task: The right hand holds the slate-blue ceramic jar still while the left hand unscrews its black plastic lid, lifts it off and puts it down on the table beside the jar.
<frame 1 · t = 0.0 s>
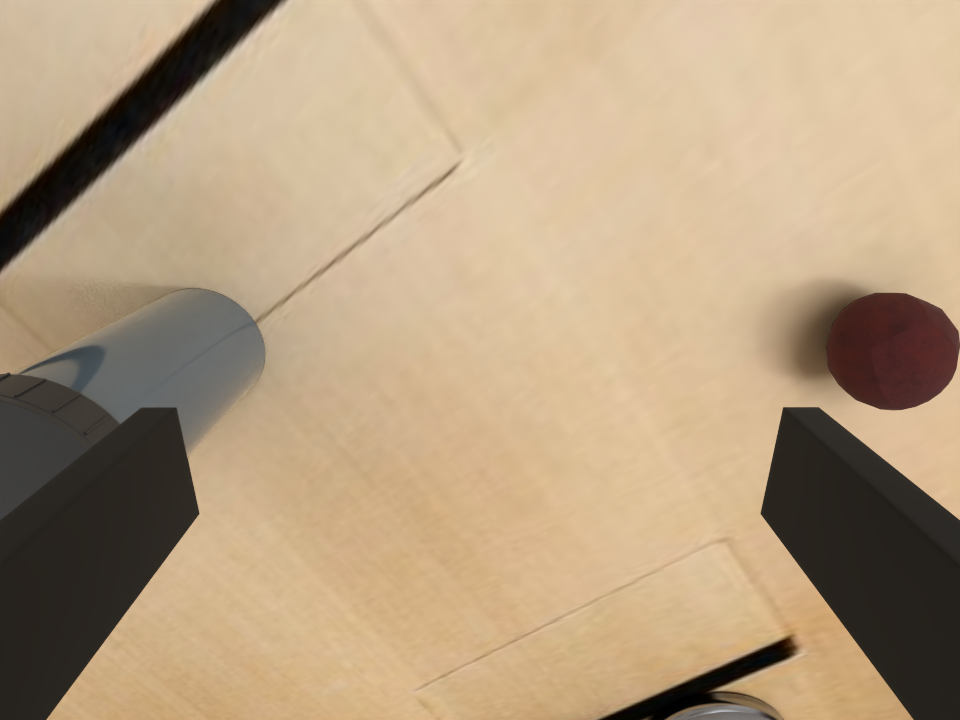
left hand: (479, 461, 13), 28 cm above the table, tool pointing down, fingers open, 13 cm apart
dark red round ball: (855, 331, 41), on the table
lid: (8, 497, 24), point 19 cm above the table, screwed on, not yet turned
jar: (204, 347, 41), on the table
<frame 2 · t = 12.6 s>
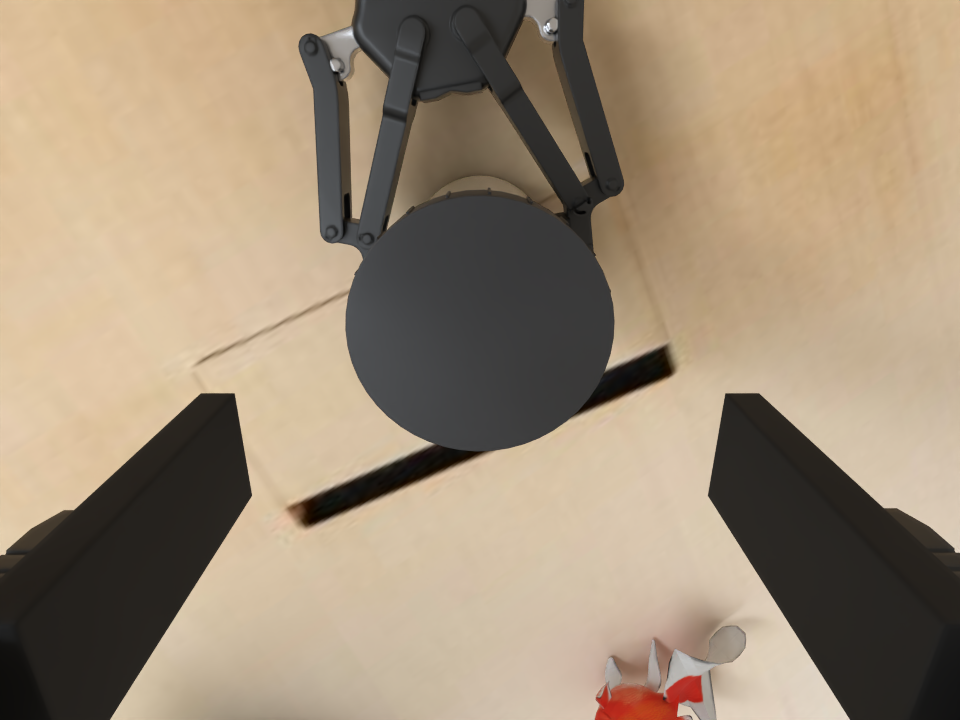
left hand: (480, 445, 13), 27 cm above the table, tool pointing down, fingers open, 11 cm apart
right hand: (492, 340, 34), fingers closed on jar, 9 cm apart
lid: (479, 331, 21), point 19 cm above the table, screwed on, not yet turned
jar: (479, 243, 38), on the table, touching right hand
fish: (654, 649, 52), on the table
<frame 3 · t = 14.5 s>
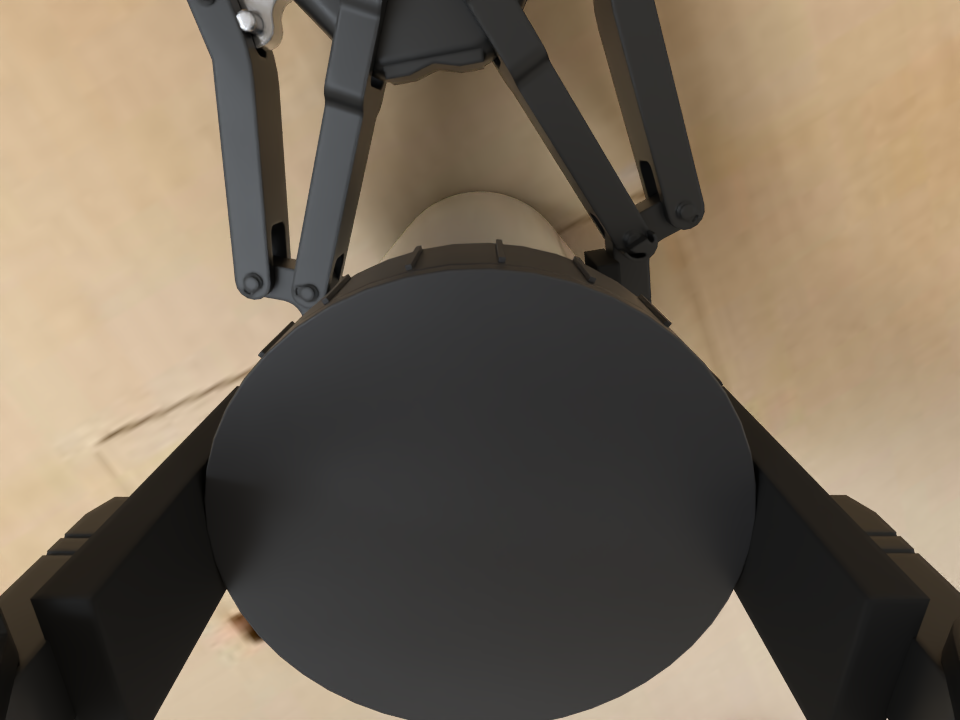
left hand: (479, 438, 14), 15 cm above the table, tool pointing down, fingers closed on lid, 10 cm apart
right hand: (498, 432, 23), fingers closed on jar, 9 cm apart
lid: (480, 526, 11), point 19 cm above the table, screwed on, not yet turned, touching left hand
jar: (480, 284, 28), on the table, touching right hand
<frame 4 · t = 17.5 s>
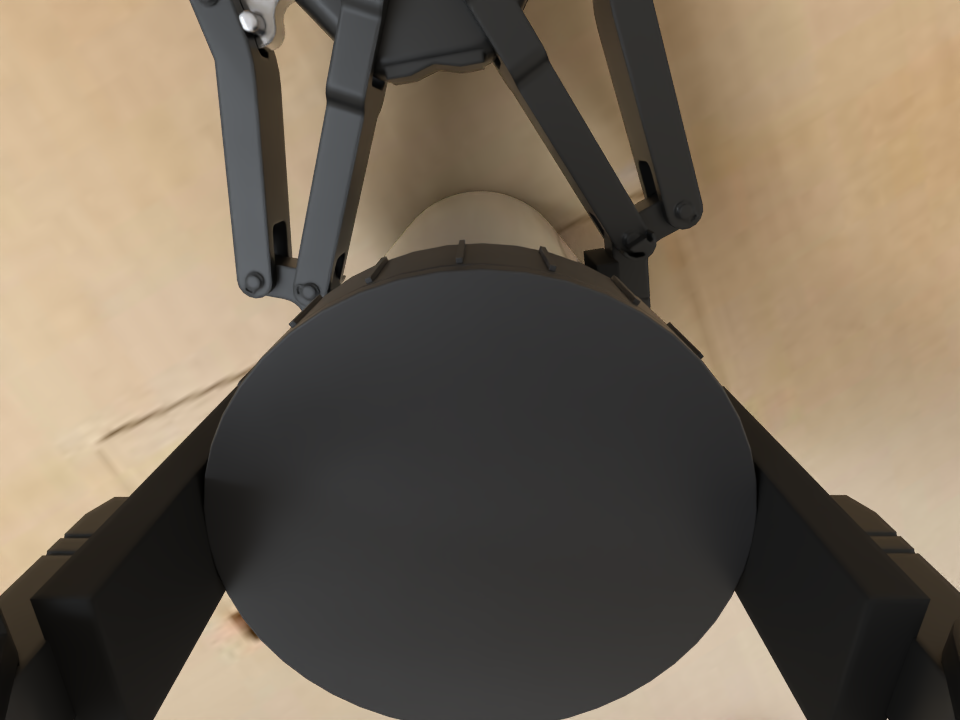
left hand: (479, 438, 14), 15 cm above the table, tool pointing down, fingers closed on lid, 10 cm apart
right hand: (498, 430, 23), fingers closed on jar, 9 cm apart
lid: (480, 527, 11), point 19 cm above the table, turned 76° so far, risen 0.2 cm, still on its thread, touching left hand
jar: (480, 283, 28), on the table, touching right hand
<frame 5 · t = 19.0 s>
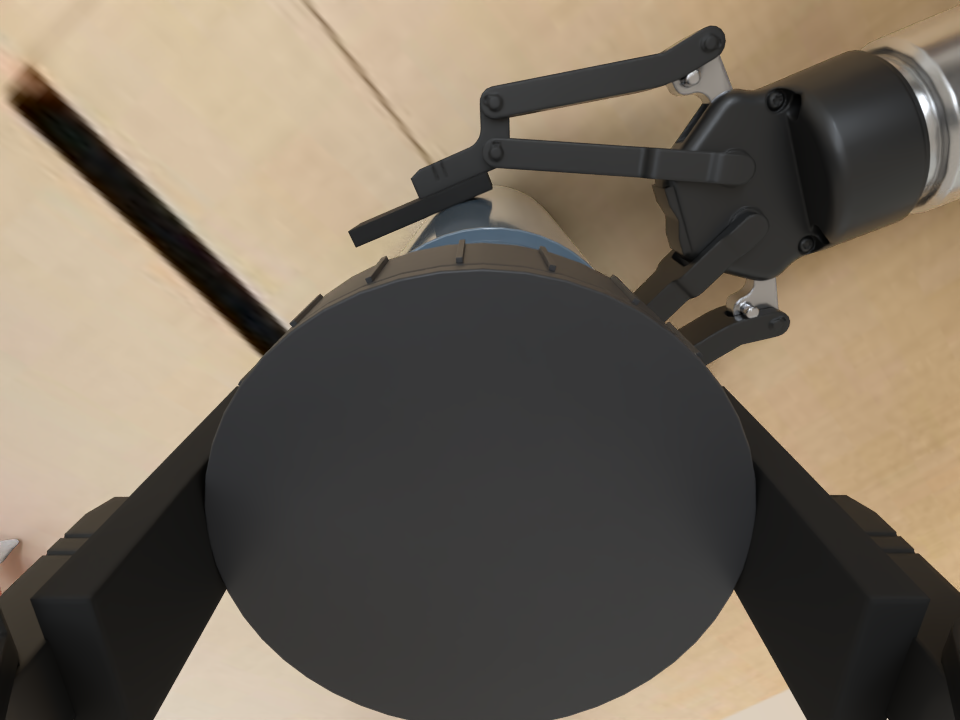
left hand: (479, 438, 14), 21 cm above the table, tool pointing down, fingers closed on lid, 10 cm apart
right hand: (402, 325, 28), fingers closed on jar, 9 cm apart
lid: (480, 526, 11), point 24 cm above the table, off its thread, touching left hand
jar: (489, 262, 33), on the table, touching right hand
when the left hand's fingers open (0 cm above the table, at t = 24.4 s): lid drops 2 cm, point 2 cm above the table.
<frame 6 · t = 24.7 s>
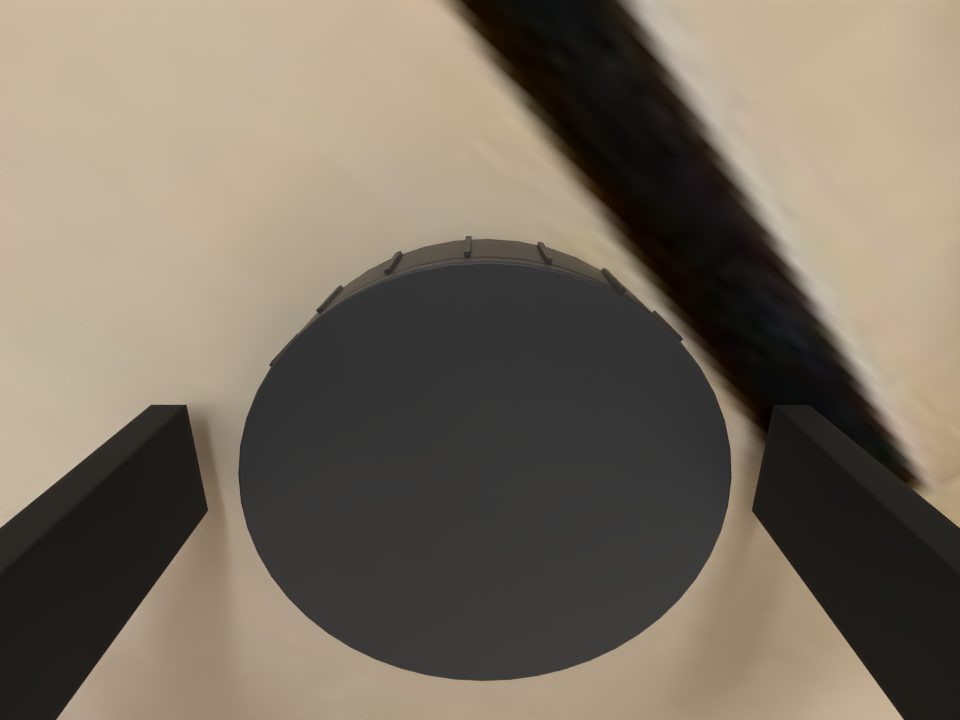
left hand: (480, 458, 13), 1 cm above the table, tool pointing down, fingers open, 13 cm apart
lid: (484, 493, 12), point 2 cm above the table, off its thread
when the right hand's fingers open (7 cm above the table, at t = 25.5 s): jar stays where it is, on the table.
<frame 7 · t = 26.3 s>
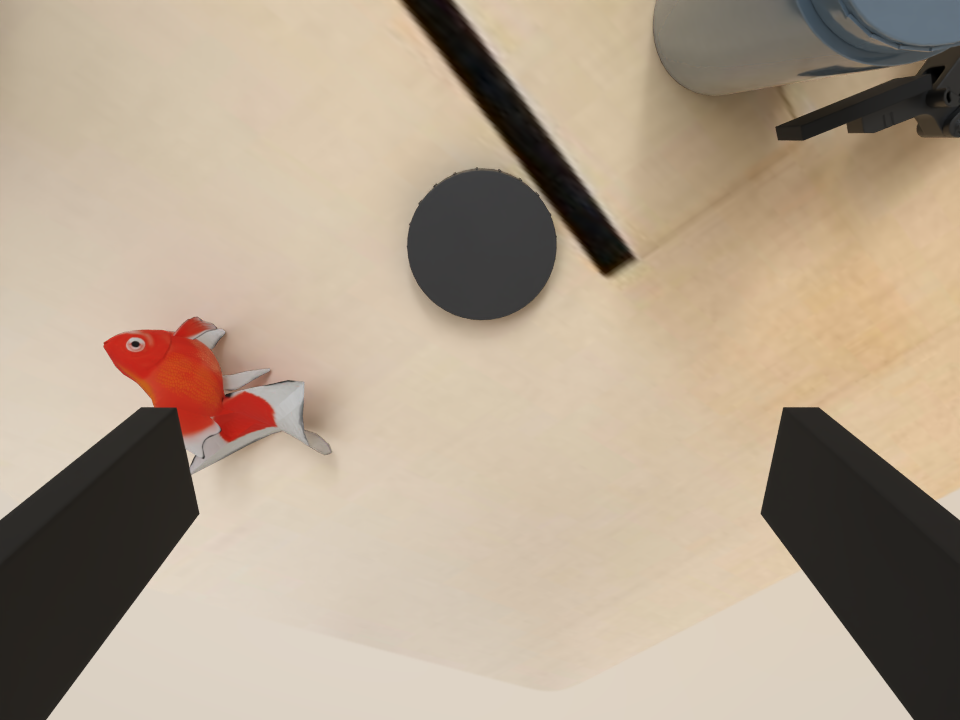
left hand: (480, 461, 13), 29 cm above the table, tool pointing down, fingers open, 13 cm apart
lid: (481, 247, 38), point 2 cm above the table, off its thread
jar: (725, 16, 35), on the table
fish: (253, 375, 43), on the table
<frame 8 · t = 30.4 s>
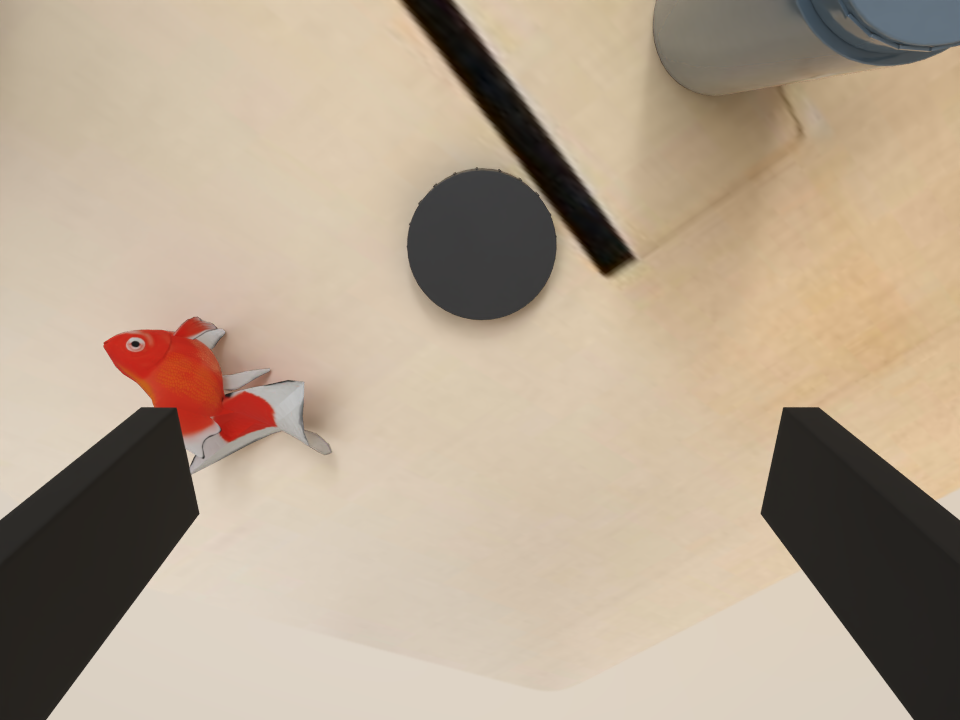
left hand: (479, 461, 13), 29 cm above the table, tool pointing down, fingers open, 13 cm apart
lid: (481, 247, 38), point 2 cm above the table, off its thread
jar: (725, 16, 35), on the table
fish: (253, 375, 43), on the table
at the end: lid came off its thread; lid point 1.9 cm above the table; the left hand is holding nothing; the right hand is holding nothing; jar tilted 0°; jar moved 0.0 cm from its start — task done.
